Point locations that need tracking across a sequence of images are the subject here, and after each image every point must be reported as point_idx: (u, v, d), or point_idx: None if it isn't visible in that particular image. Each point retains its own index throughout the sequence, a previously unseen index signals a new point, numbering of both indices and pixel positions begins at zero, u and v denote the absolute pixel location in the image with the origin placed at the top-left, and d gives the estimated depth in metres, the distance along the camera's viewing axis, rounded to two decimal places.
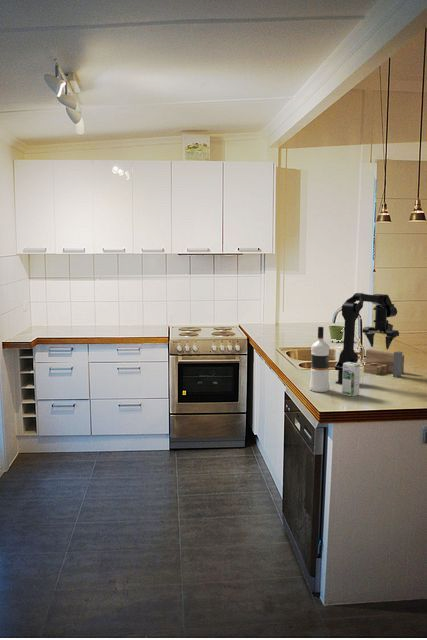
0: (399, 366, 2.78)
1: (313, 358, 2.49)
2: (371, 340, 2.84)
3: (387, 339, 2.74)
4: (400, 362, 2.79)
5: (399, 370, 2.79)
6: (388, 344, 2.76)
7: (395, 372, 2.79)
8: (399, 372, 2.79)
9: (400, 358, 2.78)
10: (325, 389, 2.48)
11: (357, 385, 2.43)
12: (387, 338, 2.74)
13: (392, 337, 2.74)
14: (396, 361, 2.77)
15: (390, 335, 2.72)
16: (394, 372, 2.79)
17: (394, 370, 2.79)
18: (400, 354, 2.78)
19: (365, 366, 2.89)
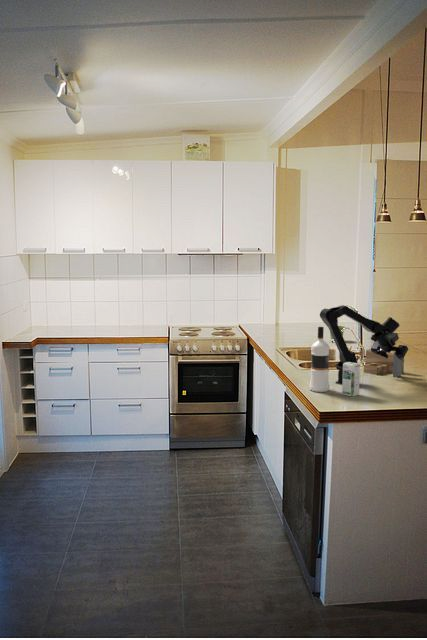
0: (399, 366, 2.78)
1: (313, 358, 2.49)
2: (384, 354, 2.79)
3: (399, 358, 2.69)
4: (400, 362, 2.79)
5: (399, 370, 2.79)
6: (402, 358, 2.71)
7: (395, 372, 2.79)
8: (399, 372, 2.79)
9: None
10: (325, 389, 2.48)
11: (357, 385, 2.43)
12: (399, 357, 2.68)
13: None
14: (396, 361, 2.77)
15: (401, 356, 2.66)
16: (394, 372, 2.79)
17: (394, 370, 2.79)
18: None
19: (365, 366, 2.89)
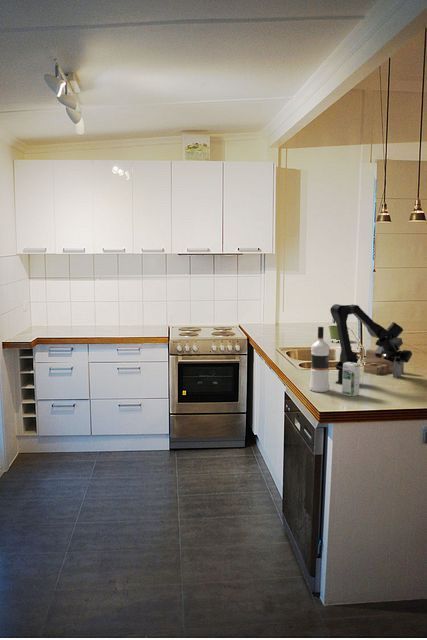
0: (399, 366, 2.78)
1: (313, 358, 2.49)
2: (393, 360, 2.79)
3: (397, 362, 2.74)
4: None
5: (399, 370, 2.79)
6: (400, 362, 2.77)
7: (395, 372, 2.79)
8: (399, 372, 2.79)
9: None
10: (325, 389, 2.48)
11: (357, 385, 2.43)
12: (397, 361, 2.74)
13: None
14: None
15: (405, 361, 2.69)
16: (394, 372, 2.79)
17: (394, 370, 2.79)
18: None
19: (365, 366, 2.89)
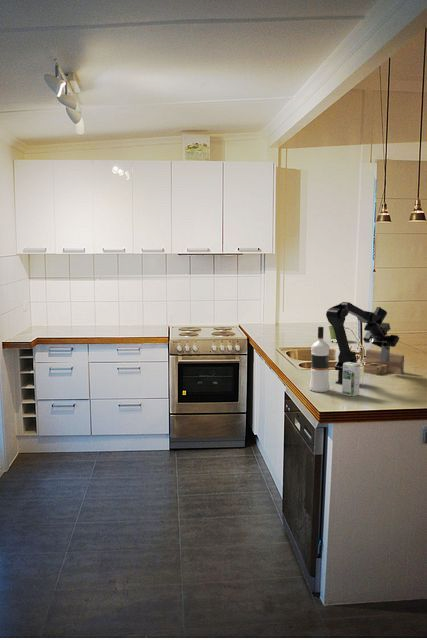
0: (386, 351, 2.83)
1: (313, 358, 2.49)
2: (381, 345, 2.84)
3: (385, 346, 2.79)
4: None
5: (387, 355, 2.84)
6: (388, 347, 2.82)
7: (382, 357, 2.83)
8: (387, 357, 2.84)
9: None
10: (325, 389, 2.48)
11: (357, 385, 2.43)
12: (385, 346, 2.79)
13: None
14: None
15: (391, 346, 2.74)
16: (382, 357, 2.84)
17: (382, 355, 2.84)
18: None
19: (365, 366, 2.89)
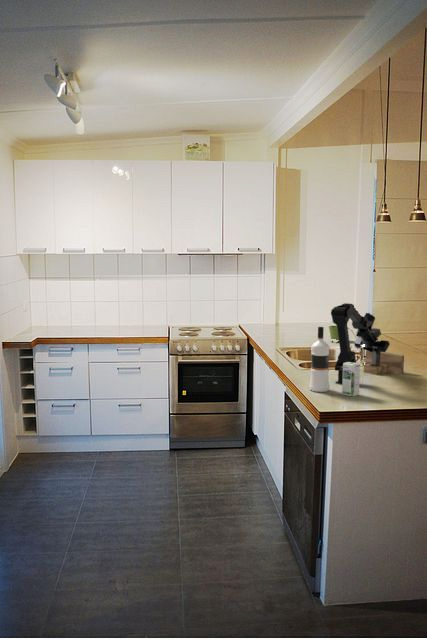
0: (377, 356, 2.88)
1: (313, 358, 2.49)
2: None
3: (376, 351, 2.84)
4: None
5: (377, 360, 2.88)
6: (379, 352, 2.86)
7: (373, 362, 2.88)
8: (378, 362, 2.89)
9: None
10: (325, 389, 2.48)
11: (357, 385, 2.43)
12: (375, 351, 2.83)
13: None
14: None
15: (382, 351, 2.78)
16: (373, 362, 2.88)
17: (373, 360, 2.88)
18: None
19: (365, 366, 2.89)
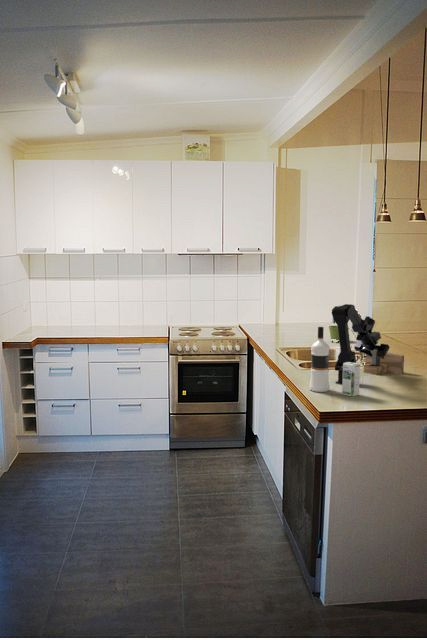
0: (377, 362, 2.88)
1: (313, 358, 2.49)
2: (368, 353, 2.91)
3: (379, 356, 2.82)
4: (378, 358, 2.89)
5: None
6: (382, 356, 2.85)
7: None
8: None
9: None
10: (325, 389, 2.48)
11: (357, 385, 2.43)
12: (379, 355, 2.82)
13: None
14: (374, 357, 2.87)
15: (382, 354, 2.78)
16: None
17: None
18: None
19: (365, 366, 2.89)
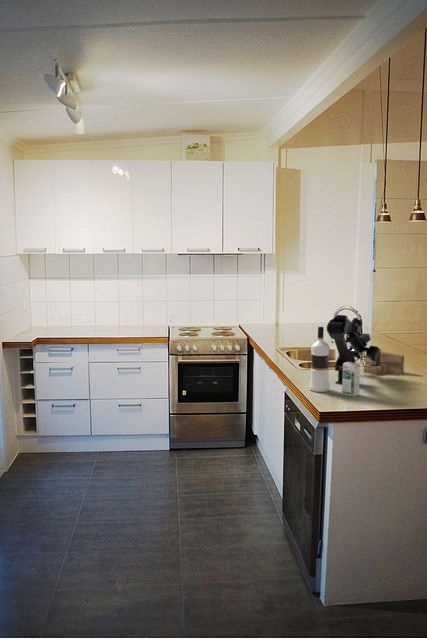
0: (377, 362, 2.88)
1: (313, 358, 2.49)
2: (356, 355, 2.86)
3: (370, 358, 2.76)
4: (378, 358, 2.89)
5: None
6: (373, 359, 2.78)
7: None
8: None
9: (378, 354, 2.88)
10: (325, 389, 2.48)
11: (357, 385, 2.43)
12: (370, 358, 2.75)
13: None
14: None
15: (371, 357, 2.73)
16: None
17: None
18: None
19: (365, 366, 2.89)
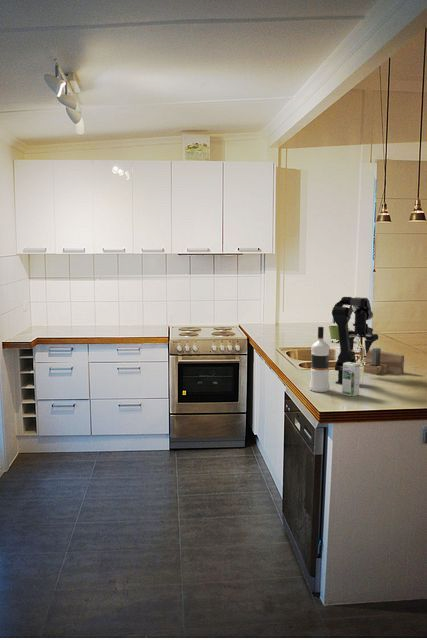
0: (377, 362, 2.88)
1: (313, 358, 2.49)
2: (351, 344, 2.82)
3: (366, 343, 2.72)
4: (378, 358, 2.89)
5: None
6: (367, 348, 2.74)
7: None
8: None
9: (378, 354, 2.88)
10: (325, 389, 2.48)
11: (357, 385, 2.43)
12: (366, 342, 2.72)
13: (371, 341, 2.71)
14: (374, 357, 2.88)
15: (369, 339, 2.70)
16: None
17: None
18: (378, 350, 2.88)
19: (365, 366, 2.89)
